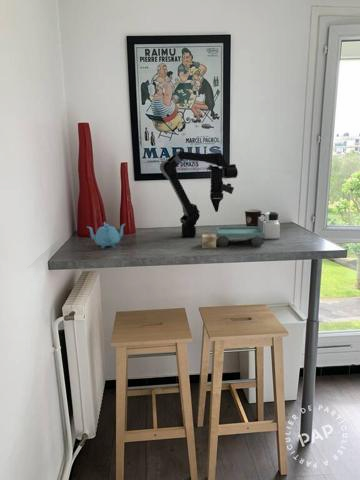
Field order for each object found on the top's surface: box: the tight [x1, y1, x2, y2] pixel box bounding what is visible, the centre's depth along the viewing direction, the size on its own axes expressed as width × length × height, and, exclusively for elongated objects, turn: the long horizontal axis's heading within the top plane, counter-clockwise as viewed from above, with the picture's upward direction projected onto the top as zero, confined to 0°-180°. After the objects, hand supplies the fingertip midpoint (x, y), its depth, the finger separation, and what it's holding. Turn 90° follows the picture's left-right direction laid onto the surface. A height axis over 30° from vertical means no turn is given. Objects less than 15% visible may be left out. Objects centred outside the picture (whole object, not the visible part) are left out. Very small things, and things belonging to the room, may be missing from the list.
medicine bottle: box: [263, 211, 281, 240], centre depth 172 cm, size 7×7×12 cm
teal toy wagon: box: [216, 216, 264, 248], centre depth 163 cm, size 20×14×11 cm
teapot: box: [87, 221, 126, 249], centre depth 163 cm, size 13×13×10 cm
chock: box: [201, 233, 217, 249], centre depth 159 cm, size 6×5×5 cm
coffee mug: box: [244, 208, 265, 227], centre depth 189 cm, size 12×9×10 cm
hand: (216, 210), depth 180 cm, fingers open, 9 cm apart
